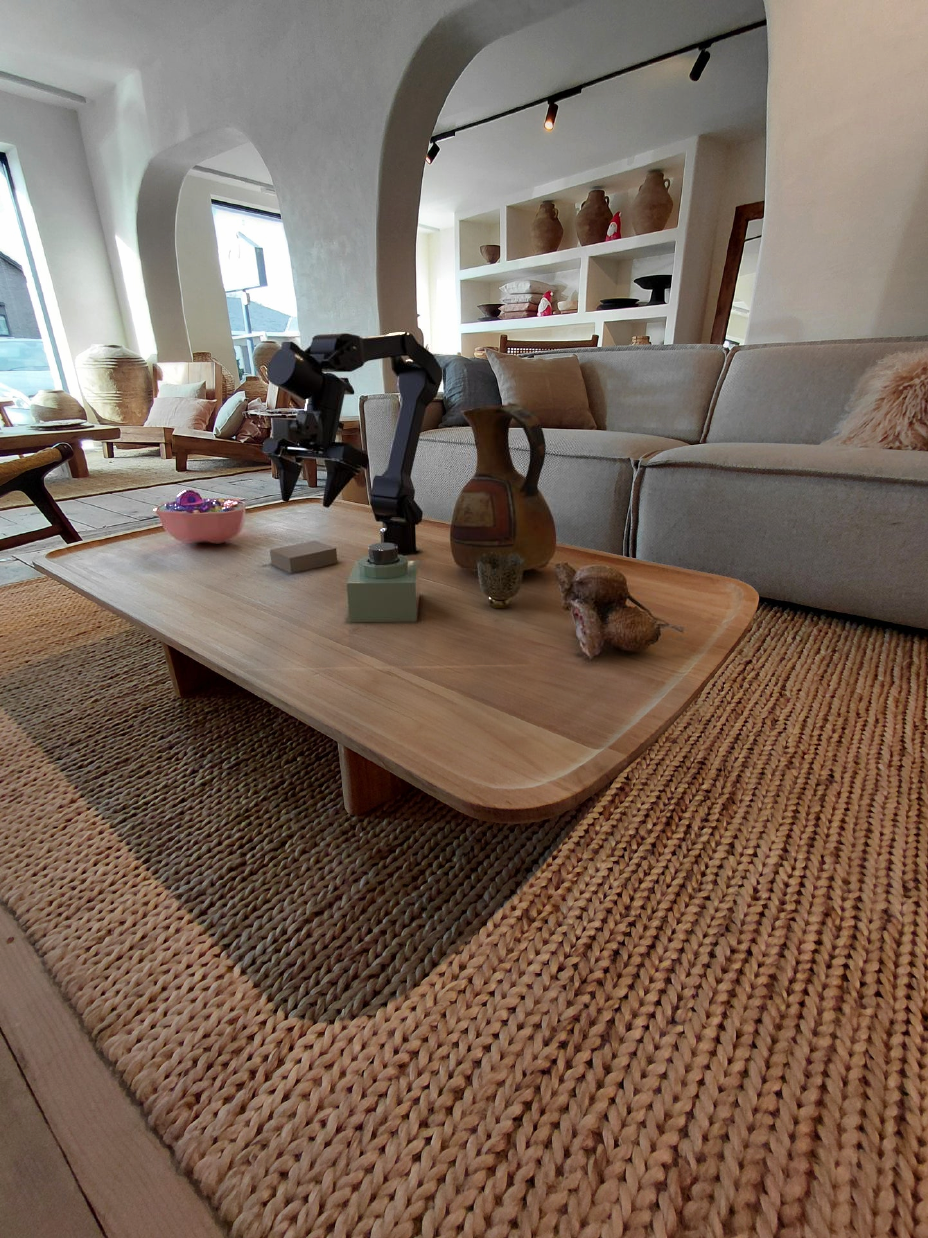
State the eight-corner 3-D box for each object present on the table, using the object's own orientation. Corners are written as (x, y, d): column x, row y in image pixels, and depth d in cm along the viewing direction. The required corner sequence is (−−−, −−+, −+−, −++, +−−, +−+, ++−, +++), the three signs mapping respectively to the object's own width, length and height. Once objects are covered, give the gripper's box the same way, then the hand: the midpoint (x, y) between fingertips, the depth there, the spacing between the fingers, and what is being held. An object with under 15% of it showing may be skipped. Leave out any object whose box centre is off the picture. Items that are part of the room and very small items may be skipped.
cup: (527, 600, 94) (529, 553, 91) (516, 617, 88) (518, 566, 85) (484, 595, 97) (484, 549, 93) (470, 611, 90) (470, 561, 87)
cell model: (211, 558, 117) (201, 502, 112) (144, 546, 125) (132, 493, 120) (270, 538, 131) (264, 488, 126) (206, 529, 139) (198, 481, 134)
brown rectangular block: (316, 554, 119) (315, 540, 118) (337, 562, 114) (336, 548, 113) (271, 564, 113) (269, 549, 112) (291, 573, 107) (289, 558, 106)
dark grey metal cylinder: (371, 558, 90) (370, 542, 89) (399, 558, 90) (398, 542, 89) (367, 567, 86) (366, 550, 85) (397, 566, 86) (396, 550, 85)
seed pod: (578, 567, 89) (528, 559, 77) (685, 563, 79) (647, 553, 67) (576, 653, 89) (526, 657, 77) (683, 659, 79) (645, 665, 67)
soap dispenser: (359, 596, 96) (355, 550, 93) (419, 596, 96) (417, 549, 93) (349, 622, 86) (345, 571, 83) (416, 621, 86) (414, 570, 83)
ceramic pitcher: (485, 549, 123) (488, 399, 111) (572, 566, 112) (585, 401, 100) (428, 572, 108) (424, 402, 96) (521, 594, 97) (530, 405, 86)
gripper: (245, 390, 92) (227, 486, 93) (333, 391, 84) (312, 497, 84) (295, 416, 102) (278, 503, 103) (378, 420, 94) (360, 514, 94)
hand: (304, 504), depth 96 cm, fingers open, 9 cm apart
